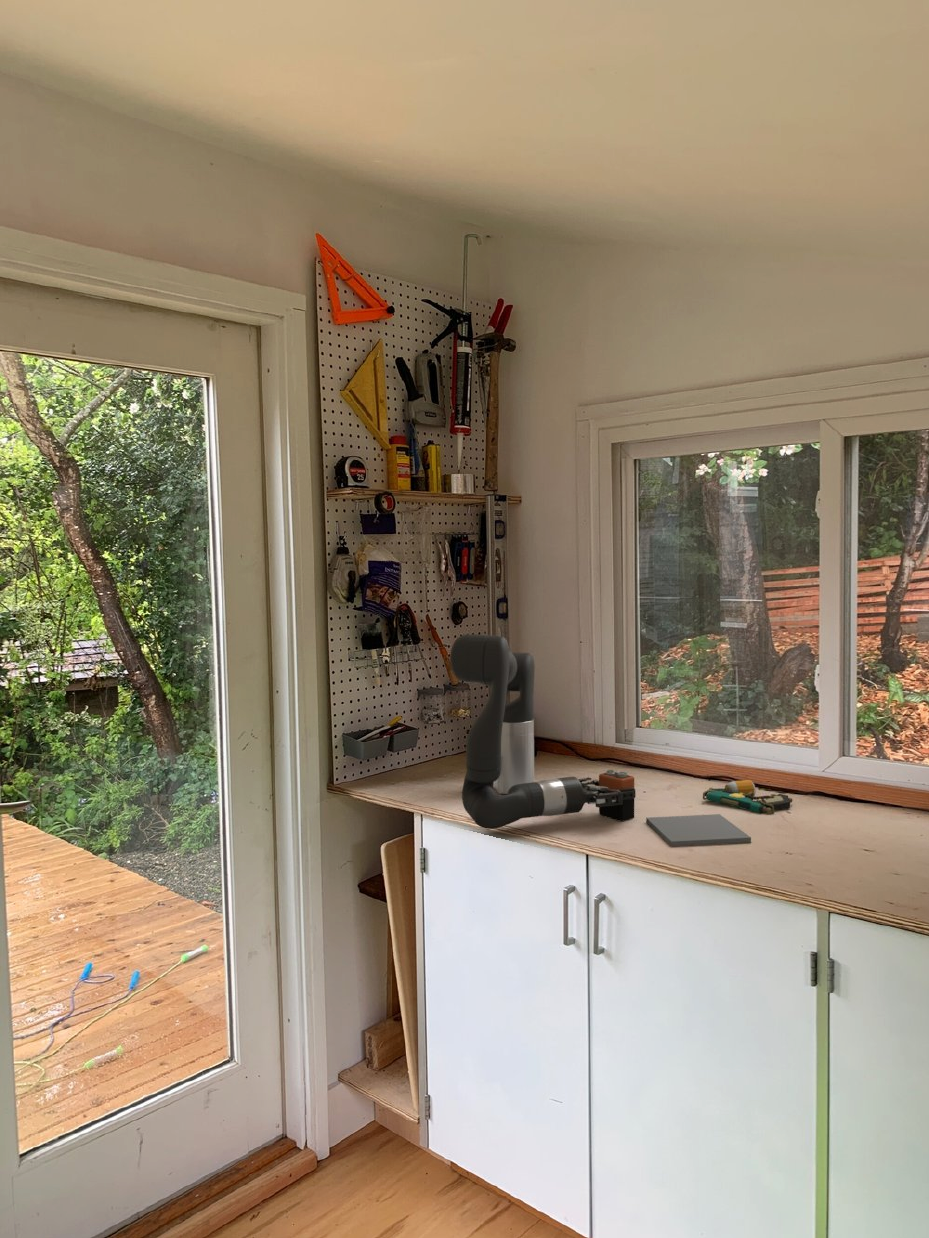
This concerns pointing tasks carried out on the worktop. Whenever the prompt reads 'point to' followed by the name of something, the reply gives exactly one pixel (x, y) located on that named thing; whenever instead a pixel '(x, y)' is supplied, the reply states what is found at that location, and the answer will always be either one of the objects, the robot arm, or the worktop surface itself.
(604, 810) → the battery
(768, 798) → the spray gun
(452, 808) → the worktop surface
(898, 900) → the worktop surface
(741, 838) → the mat
